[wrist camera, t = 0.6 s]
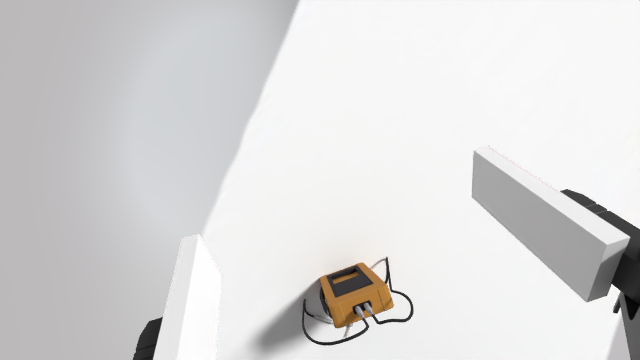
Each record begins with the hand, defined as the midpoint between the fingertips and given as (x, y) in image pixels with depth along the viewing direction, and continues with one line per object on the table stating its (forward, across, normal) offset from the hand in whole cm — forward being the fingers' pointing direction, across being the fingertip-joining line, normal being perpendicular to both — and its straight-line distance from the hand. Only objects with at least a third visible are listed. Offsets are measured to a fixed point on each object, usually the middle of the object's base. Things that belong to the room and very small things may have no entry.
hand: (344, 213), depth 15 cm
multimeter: (+21, -1, +33) cm, 39 cm away
